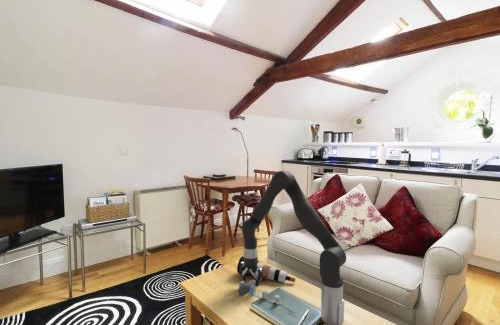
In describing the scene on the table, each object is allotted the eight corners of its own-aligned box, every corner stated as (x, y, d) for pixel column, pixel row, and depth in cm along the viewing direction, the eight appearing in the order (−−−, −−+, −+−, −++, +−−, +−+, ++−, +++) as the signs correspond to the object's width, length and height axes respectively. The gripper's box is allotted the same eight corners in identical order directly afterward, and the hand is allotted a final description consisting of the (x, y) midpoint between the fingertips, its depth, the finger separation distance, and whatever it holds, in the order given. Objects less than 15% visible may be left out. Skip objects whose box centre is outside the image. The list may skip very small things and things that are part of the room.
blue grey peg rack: (280, 303, 135) (280, 296, 134) (277, 305, 133) (277, 298, 132) (241, 287, 149) (241, 280, 149) (239, 289, 148) (239, 282, 147)
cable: (292, 293, 151) (292, 282, 146) (238, 276, 163) (236, 266, 158) (296, 278, 159) (297, 267, 154) (244, 263, 171) (242, 252, 166)
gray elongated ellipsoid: (252, 284, 152) (251, 278, 152) (257, 285, 150) (256, 279, 150) (237, 295, 142) (235, 289, 142) (242, 296, 139) (240, 289, 140)
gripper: (265, 256, 145) (265, 285, 146) (244, 249, 154) (245, 277, 155) (257, 261, 139) (257, 291, 141) (236, 254, 148) (236, 282, 149)
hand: (250, 283), depth 148 cm, fingers open, 8 cm apart
